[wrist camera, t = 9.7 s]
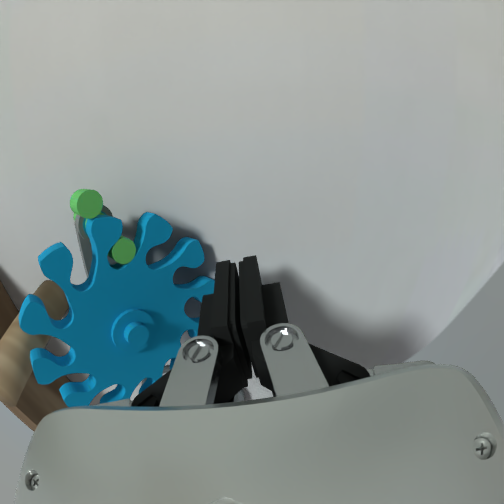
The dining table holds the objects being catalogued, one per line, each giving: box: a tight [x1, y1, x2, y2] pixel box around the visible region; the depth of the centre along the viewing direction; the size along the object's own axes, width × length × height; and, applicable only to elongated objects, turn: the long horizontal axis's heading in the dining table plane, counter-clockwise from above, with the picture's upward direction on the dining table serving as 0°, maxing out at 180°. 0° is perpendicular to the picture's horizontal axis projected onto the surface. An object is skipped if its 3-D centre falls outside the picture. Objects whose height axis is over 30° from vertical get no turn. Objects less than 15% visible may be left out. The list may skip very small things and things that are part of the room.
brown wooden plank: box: [0, 281, 70, 431], centre depth 14 cm, size 2×16×6 cm, turn 11°
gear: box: [18, 189, 215, 407], centre depth 13 cm, size 11×6×10 cm
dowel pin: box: [0, 280, 69, 407], centre depth 12 cm, size 2×2×8 cm
